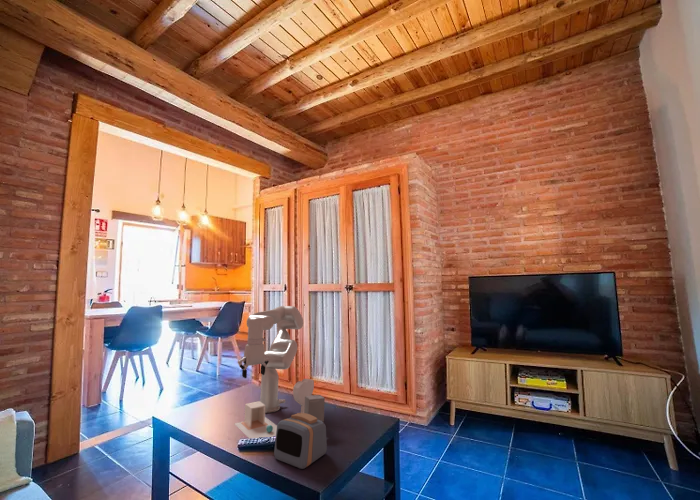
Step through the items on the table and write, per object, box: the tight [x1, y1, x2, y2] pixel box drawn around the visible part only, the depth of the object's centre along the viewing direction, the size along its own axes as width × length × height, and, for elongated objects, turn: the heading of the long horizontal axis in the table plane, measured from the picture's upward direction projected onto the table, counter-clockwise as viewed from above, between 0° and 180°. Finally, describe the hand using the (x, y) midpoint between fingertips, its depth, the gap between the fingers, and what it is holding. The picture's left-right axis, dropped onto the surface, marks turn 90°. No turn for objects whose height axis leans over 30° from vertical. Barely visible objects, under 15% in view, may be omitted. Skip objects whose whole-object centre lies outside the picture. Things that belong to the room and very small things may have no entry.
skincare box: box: [304, 394, 326, 424], centre depth 157 cm, size 8×7×16 cm
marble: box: [266, 425, 273, 432], centre depth 153 cm, size 3×3×3 cm
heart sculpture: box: [292, 378, 315, 413], centre depth 176 cm, size 16×5×18 cm, turn 156°
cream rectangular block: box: [243, 400, 266, 428], centre depth 162 cm, size 7×7×9 cm
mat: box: [234, 416, 277, 440], centre depth 156 cm, size 16×26×1 cm, turn 39°
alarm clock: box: [273, 412, 328, 470], centre depth 133 cm, size 16×16×16 cm
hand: (253, 375), depth 166 cm, fingers open, 9 cm apart
